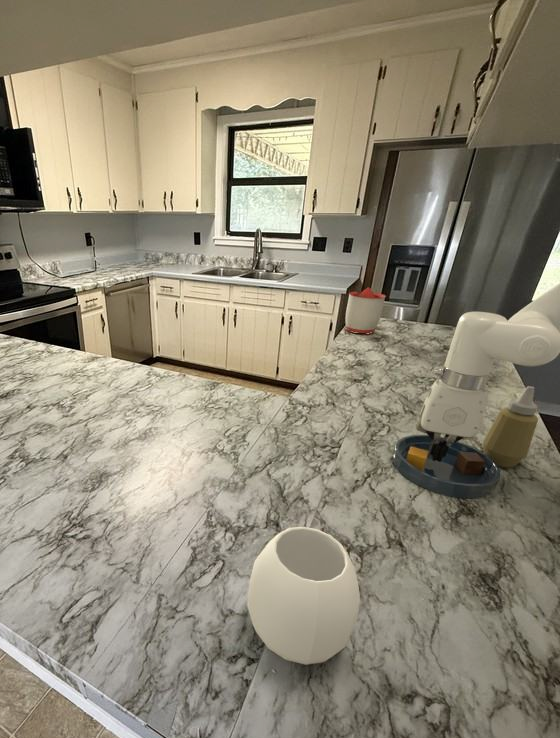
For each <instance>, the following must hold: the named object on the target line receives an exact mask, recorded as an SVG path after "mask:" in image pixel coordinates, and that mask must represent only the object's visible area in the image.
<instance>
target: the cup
mask: <svg viewBox="0 0 560 738" xmlns="http://www.w3.org/2000/svg"><path fill="white" fill-rule="evenodd" d="M360 605H361V593H360V586H359V580H358V576H357V572H356V568H355V566H354V564H353V561H352V560H351V557H350V555H349V553H348V552H347V550H346V549H345V547H344V546H343V544H342V543H341V542H340V541H339V540H337V539H336V538H335V537H334V536H333V535H331V534H329V533H327V532H325V531H323V530H320V529H318V528H314V527H313V528H312V527H307V526H298V527H296V526H295V527H289V528H287V529H285V530H283V531H280V532H279V533H277V534H276V535H275V536H274V537H272V538H271V540H269V542H268V543H267V544H266V546H265V547H264V548H263V550H261V552H260V553H259V555H257V557H256V559H254V562H253V567H252V570H251V574H250V579H249V585H248V592H247V610H248V613H249V616H250V621H251V623H252V626H253V628H254V630H255V633H256V634H257V636H258V637H259V638H260V640H261V641H262V642H263V643H264V645H265V646H266V648H267V649H268V650H270V651H272V652H273V653H274V654H276V655H277V656H278V657H281V658H282V659H284V660H285V661H288V662H293V663H298V664H301V665H307V666H308V665H312V664H313V665H314V664H320V663H325V662H326V661H327V660H329V659H331V658H332V657H334V656H335V655H337V654H338V653H339V652H341V650H344V648H346V647H347V645H348V642H349V640H350V638H351V636H352V633H353V631H354V628H355V625H356V623H357V620H358V617H359V611H360Z"/></svg>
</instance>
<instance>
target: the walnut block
mask: <svg viewBox="0 0 560 738" xmlns="http://www.w3.org/2000/svg"><path fill="white" fill-rule="evenodd" d="M484 464H485V461H484V460H483V459H482V458H481V457H480V456H479V455H478V454H477V453H473V452H459V454H458V456H457V459H456V462H455V464H454V466H455V467H456V468H457V469H458V470H459V471H460V472H461V474H462V475H480V473H481V471H482V468H483V466H484Z"/></svg>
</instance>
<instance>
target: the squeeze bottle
mask: <svg viewBox="0 0 560 738" xmlns="http://www.w3.org/2000/svg"><path fill="white" fill-rule="evenodd" d="M534 394H535V387H534V386H531V385H527V386H526V387H525V389H524V390H523V391H522V393H521V394H520V396H519V397H518V398H512V399H510V400H509V403H508V405H507V407H503V408H502V409H500V410H499V412H498V414H497V416H496V418H495V419H494V421H493V422H492V425H491V426H490V428H489V430H488V431H487V433H486V435H485V437H484V439H483V442H482V449H483V452H482V453H484V454H486V455H487V456H489V457H490V458H491V459H492V460H493V461H494V462H495V463H496V464H497V466H498V467H502V468H514V467H515V466H517V465H518V464H519V463H520V462H521V461H522V460H523V459H524V458H526V457H527V456H528V453H529V450H530V446H531V444H532V441H533V437H534V434H535V431H536V427H537V425H538V421H539V418H538V416H537V415H535V414H536V412H537V410H538V408H539V407H538V405H537V404H536V403H534Z"/></svg>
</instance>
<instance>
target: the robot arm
mask: <svg viewBox="0 0 560 738" xmlns="http://www.w3.org/2000/svg"><path fill="white" fill-rule="evenodd" d="M559 355H560V282H559V283H558V284H556V285H554V286H553V287H551V288H550V289H548V290H547V291H545V292H544V293H543V294H541V295H540V296H538V297H537V298H535V299H534V300H532V301H531V302H530V303H529V304H527V305H525V306H524V307H522V308H521V309H520V310H519V311H517V312H516V313H514V314H513V315H512V316H511V317H509V319H507V318H506V317H505V316H503V315H501V314H497V313H494V312H493V313H492V312H487V311H468V312H465V313H463V314H462V315H461V316H459V319H458V321H457V324H456V327H455V330H454V334H453V337H452V340H451V343H450V345H449V349H448V352H447V354H446V359H445V362H444V364H443V365H442V367H441V368H439V369H437V368H434V369H433V373H432V375H433V376H434V377H437V378H436V379H435V381H434V382H433V384H432V386H431V388H430V389H429V391H428V393H427V395H426V397H425V400H424V402H423V405H422V407H421V410H420V413H419V420H418V421H417V423H416V425H415V429H416V430H417V431H418V432H420V433H423V434H425V435H428V436H429V437H430V438H431V440H432V441H431V444H430V447H429V452H428V453H429V454H430V455H431V458H432V461H435V460H437V461H438V462H441V460H442V458H443V457H445V456H446V454H447V451H448V448H449V446H452V445H453V443H455V442H457V441H458V442H460V441H461V440H467V441H468V440H474V439H475V438H476V436H478V434H479V432H480V429H481V426H482V423H483V420H484V417H485V413H486V410H487V409H486V408H487V405H488V399H489V392H490V391H489V389H488V388H487V387H486V385H487V383H488V379H489V376H490V374H491V372H492V369H493V367H494V364H495V361H496V359H498V360H502V361H505V362H509V363H511V364H515V365H519V366H524V367H539V366H543V365H546V364H548V363H550V362H552V361H554V359H556V358H557V357H558V356H559ZM442 435H443V436H442ZM440 437H443V438H442V439H441V440H440Z"/></svg>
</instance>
